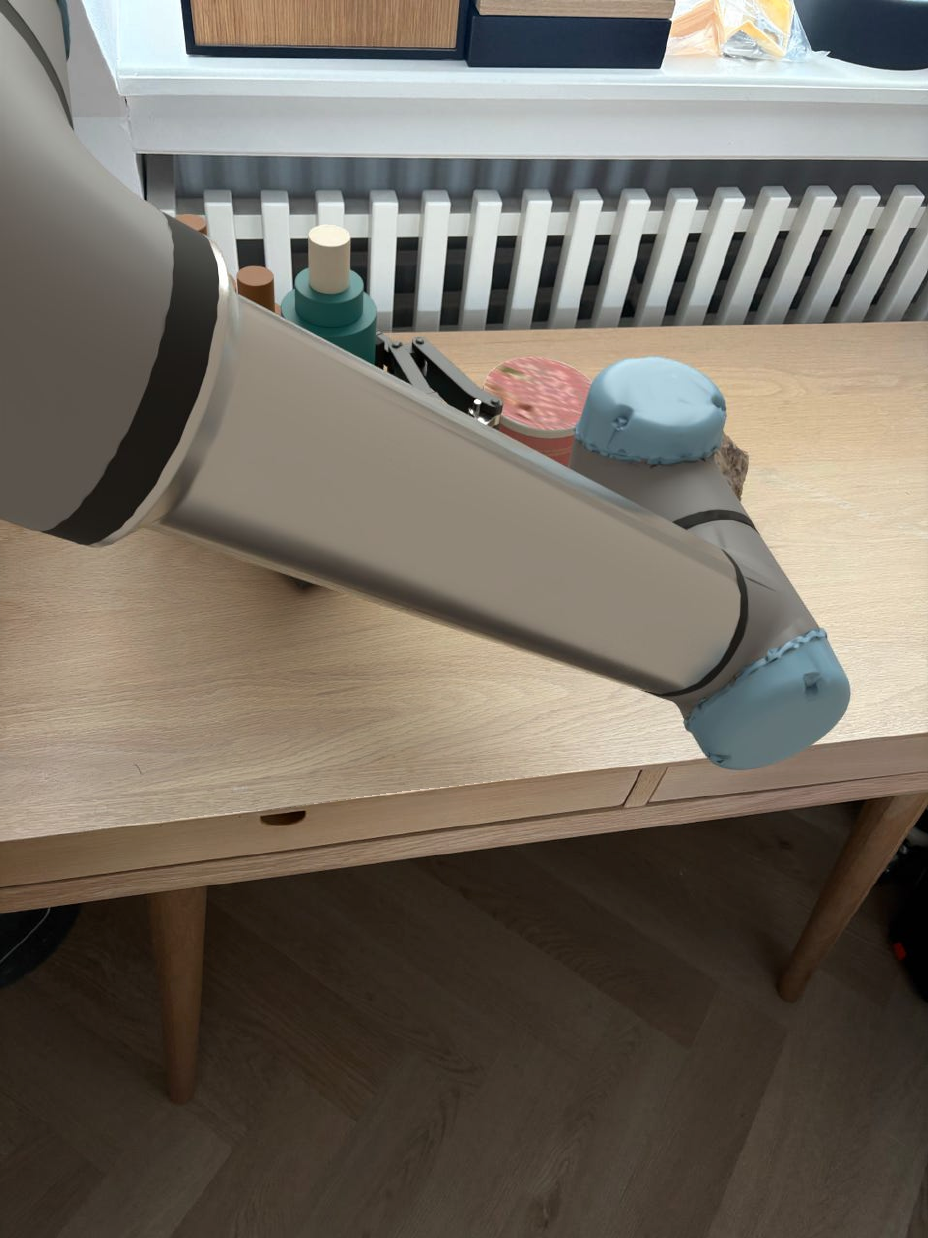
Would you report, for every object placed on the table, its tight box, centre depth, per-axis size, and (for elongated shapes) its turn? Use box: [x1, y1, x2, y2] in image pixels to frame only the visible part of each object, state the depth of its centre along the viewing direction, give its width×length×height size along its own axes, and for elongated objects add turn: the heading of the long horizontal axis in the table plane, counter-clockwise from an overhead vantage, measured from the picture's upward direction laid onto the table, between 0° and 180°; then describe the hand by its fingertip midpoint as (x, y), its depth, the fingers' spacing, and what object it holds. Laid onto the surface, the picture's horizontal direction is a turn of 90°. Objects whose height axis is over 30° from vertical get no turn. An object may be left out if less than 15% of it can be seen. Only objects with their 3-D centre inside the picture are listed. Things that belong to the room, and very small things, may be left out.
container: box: [482, 356, 593, 467], centre depth 94 cm, size 10×10×8 cm
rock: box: [715, 430, 750, 503], centre depth 92 cm, size 9×12×10 cm
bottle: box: [280, 224, 378, 366], centre depth 76 cm, size 7×7×19 cm
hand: (288, 333), depth 79 cm, fingers closed on bottle, 7 cm apart
